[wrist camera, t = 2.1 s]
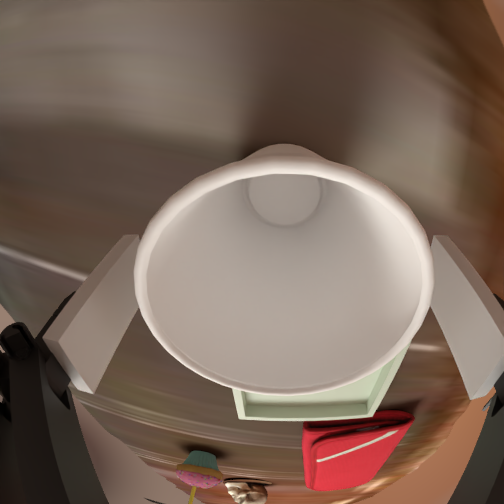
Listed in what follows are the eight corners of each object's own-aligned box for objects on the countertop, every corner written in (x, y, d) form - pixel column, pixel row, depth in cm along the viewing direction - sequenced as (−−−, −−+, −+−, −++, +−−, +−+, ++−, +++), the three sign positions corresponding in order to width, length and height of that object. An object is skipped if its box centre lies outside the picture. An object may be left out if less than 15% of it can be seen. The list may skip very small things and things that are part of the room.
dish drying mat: (305, 482, 56) (304, 495, 53) (299, 415, 35) (298, 440, 31) (368, 475, 53) (369, 488, 50) (414, 400, 32) (419, 423, 29)
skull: (215, 485, 59) (219, 508, 49) (229, 458, 61) (235, 480, 51) (257, 494, 60) (266, 516, 50) (273, 467, 62) (283, 488, 52)
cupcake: (215, 463, 49) (207, 514, 39) (175, 452, 47) (163, 504, 37) (232, 455, 44) (224, 513, 34) (187, 442, 43) (174, 502, 33)
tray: (225, 310, 24) (220, 330, 23) (409, 309, 23) (416, 327, 21) (241, 403, 33) (238, 418, 31) (369, 401, 31) (372, 416, 29)
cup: (386, 146, 16) (488, 234, 7) (326, 272, 21) (346, 409, 12) (228, 91, 15) (150, 110, 6) (193, 233, 21) (132, 360, 12)
